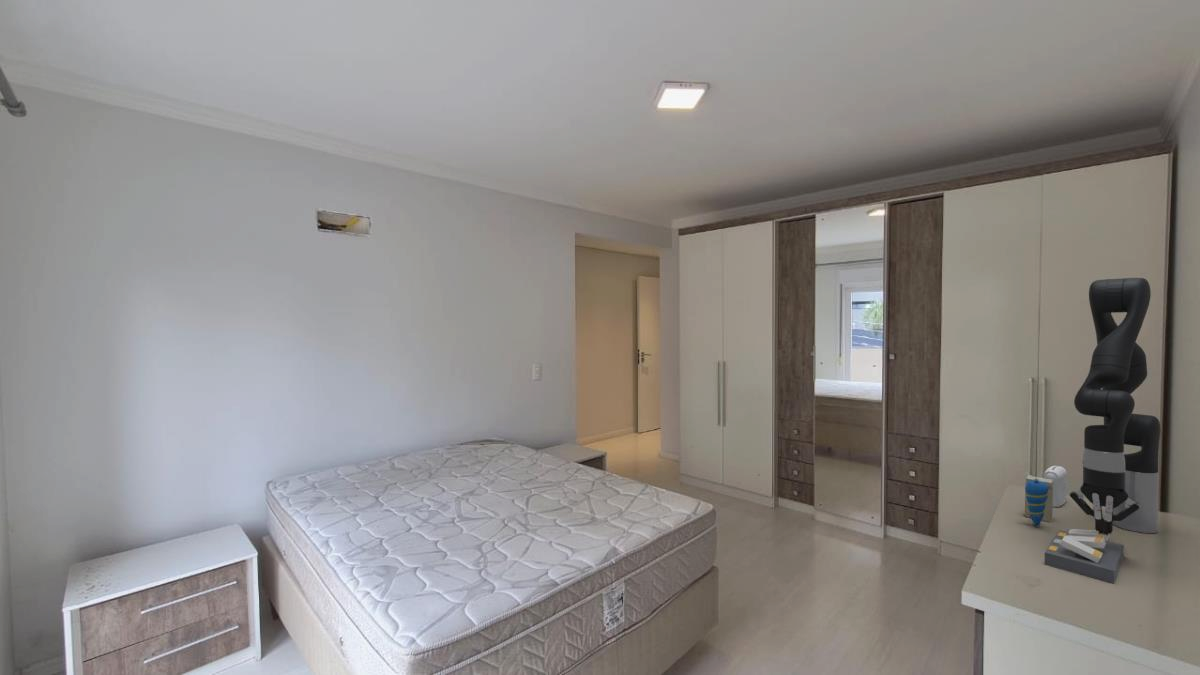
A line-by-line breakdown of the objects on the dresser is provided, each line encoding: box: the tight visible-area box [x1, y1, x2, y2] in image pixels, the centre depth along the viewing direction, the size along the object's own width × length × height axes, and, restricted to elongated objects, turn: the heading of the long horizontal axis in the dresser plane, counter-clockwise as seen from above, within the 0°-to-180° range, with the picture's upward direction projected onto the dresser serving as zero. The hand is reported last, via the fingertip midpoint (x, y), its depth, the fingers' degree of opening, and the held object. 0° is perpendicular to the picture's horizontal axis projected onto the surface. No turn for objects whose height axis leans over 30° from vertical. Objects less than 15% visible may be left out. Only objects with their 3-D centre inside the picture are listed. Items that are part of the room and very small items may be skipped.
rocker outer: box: [1060, 536, 1102, 563], centre depth 119 cm, size 4×7×2 cm, turn 38°
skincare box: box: [1024, 475, 1054, 523], centre depth 149 cm, size 6×4×12 cm
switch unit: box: [1044, 529, 1125, 584], centre depth 123 cm, size 20×12×4 cm, turn 128°
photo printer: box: [1043, 465, 1068, 508], centre depth 160 cm, size 10×4×12 cm, turn 123°
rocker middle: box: [1067, 535, 1106, 548], centre depth 122 cm, size 4×7×2 cm, turn 38°
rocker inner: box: [1068, 528, 1110, 541], centre depth 126 cm, size 4×7×2 cm, turn 38°
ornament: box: [1024, 476, 1049, 528], centre depth 142 cm, size 5×5×15 cm
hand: (1103, 533), depth 124 cm, fingers closed
